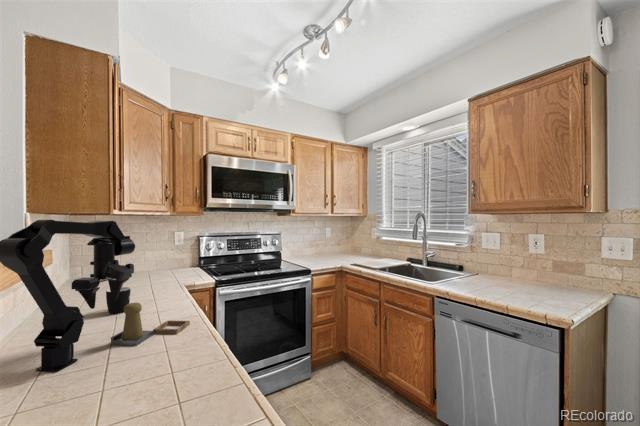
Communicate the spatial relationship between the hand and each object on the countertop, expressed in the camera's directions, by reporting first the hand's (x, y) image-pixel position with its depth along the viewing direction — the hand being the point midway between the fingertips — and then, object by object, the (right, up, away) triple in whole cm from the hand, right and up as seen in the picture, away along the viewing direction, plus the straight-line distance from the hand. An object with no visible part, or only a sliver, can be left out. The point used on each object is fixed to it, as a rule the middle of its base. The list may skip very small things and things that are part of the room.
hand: (104, 304), depth 97 cm
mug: (-19, -14, +33) cm, 40 cm away
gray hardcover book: (+8, -13, +2) cm, 16 cm away
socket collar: (+17, -13, +12) cm, 24 cm away
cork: (+8, -12, +2) cm, 14 cm away
